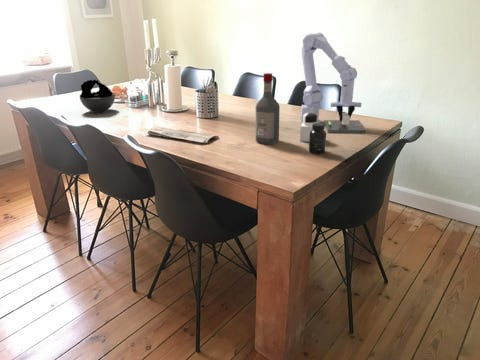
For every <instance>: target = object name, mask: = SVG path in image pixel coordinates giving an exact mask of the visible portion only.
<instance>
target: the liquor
mask: <svg viewBox="0 0 480 360" xmlns="http://www.w3.org/2000/svg"><path fill="white" fill-rule="evenodd" d="M279 139H280V104H279V102H278V101H277V100H276V99H275V98H274V97H273V73H270V72H267V73H266V72H265V73H263V94H262V97H261V99H259V101H257V103H256V105H255V142H257V143H258V144H261V145H262V144H263V145H273V144H275V143H277V142H278V141H279Z"/></svg>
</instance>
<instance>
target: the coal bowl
mask: <svg viewBox="0 0 480 360" xmlns="http://www.w3.org/2000/svg"><path fill="white" fill-rule="evenodd" d="M95 85H97V86H98V90H97V91H93V92H92V90H93V88H94V87H95ZM80 89H81V93H80V94H79V99H80V100H79V101H80V102H81V104H82V105H83V106H84V108H85V109H87V110H88V111H91V112H93V111H94V112H93V113H102V112H101V111H103V112H106V111H108V110H110V109H111V107H112V106H113V104H114V103H115V98H116V94H115V92H113V91H112V90H111V89H110V88H109V87H108V86H106V85H105V84H104V83H102V82H100V80H97V79H93V80H92V79H90V80H86V81H83V83H82V84H81V85H80Z"/></svg>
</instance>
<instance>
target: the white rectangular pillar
mask: <svg viewBox="0 0 480 360" xmlns="http://www.w3.org/2000/svg"><path fill="white" fill-rule="evenodd" d="M349 119H350V120H351V117H350V116H349V115H348V111H343V112H342V125H347V124H349Z"/></svg>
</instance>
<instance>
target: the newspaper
mask: <svg viewBox="0 0 480 360" xmlns="http://www.w3.org/2000/svg"><path fill="white" fill-rule="evenodd" d="M144 130H145V131H147V135H149V136H154V135H156V137H161V136H163V138H168V137H169V138H170V139H174V138H175V139H176V140H183V141H187V140H188V142H193V141H194V143H195V142H196V143H201V144H206V143H207V144H206V145H208V143H209V142H208V141H209V140H210V139H215V138H216V139H219V135H215V134H209V133H202V132H196V131H195V132H194V131H187V130H182V129H181V130H180V129H174V128H173V129H172V128H165V127H161V126H157V127H152V128H150V129H145V128H144Z"/></svg>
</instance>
